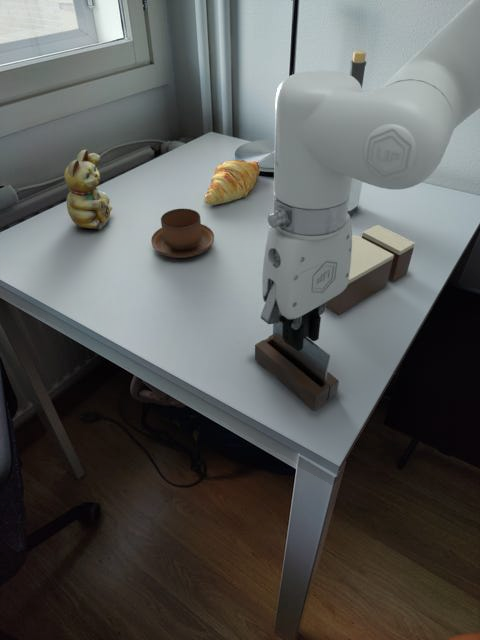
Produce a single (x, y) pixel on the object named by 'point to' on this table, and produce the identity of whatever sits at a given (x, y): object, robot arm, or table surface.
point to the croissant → (232, 181)
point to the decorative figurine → (86, 192)
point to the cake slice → (392, 249)
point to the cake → (363, 274)
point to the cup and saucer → (182, 234)
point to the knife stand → (294, 376)
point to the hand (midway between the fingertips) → (300, 339)
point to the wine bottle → (358, 74)
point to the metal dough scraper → (304, 352)
